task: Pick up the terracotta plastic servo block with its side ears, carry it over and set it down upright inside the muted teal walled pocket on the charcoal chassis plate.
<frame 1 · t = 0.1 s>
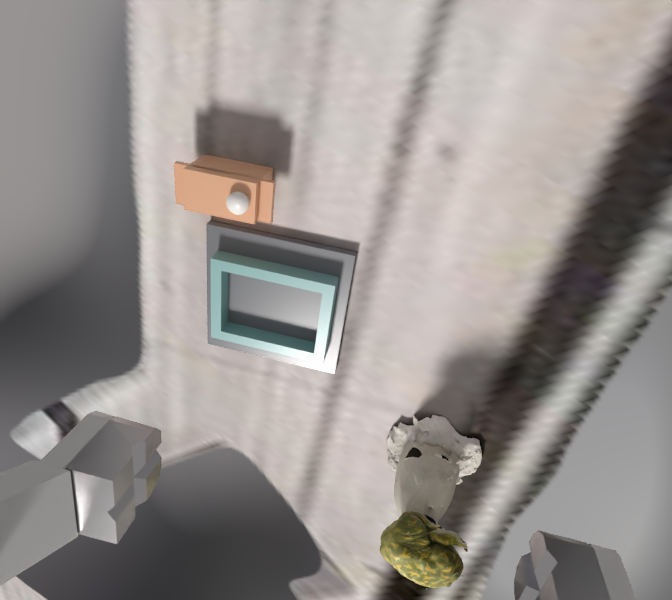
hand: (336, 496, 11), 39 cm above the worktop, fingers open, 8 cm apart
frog: (433, 446, 63), on the worktop
chassis plate: (277, 299, 56), on the worktop
servo block: (238, 180, 49), on the worktop
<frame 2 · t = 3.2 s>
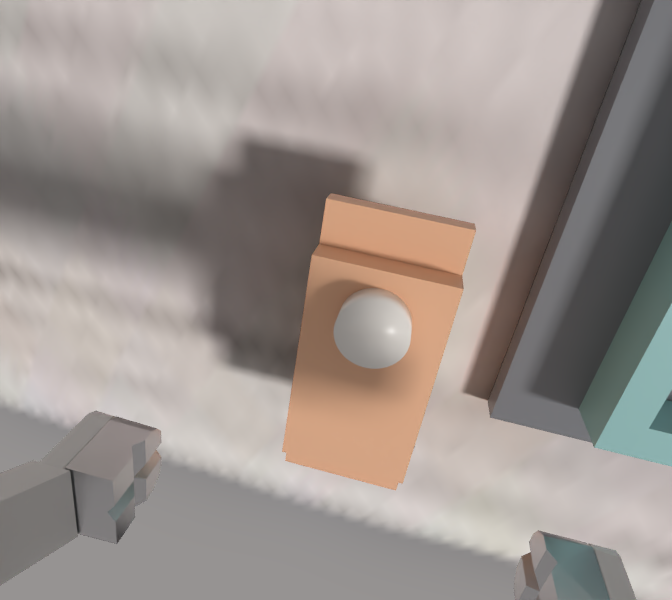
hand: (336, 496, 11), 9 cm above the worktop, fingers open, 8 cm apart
servo block: (379, 305, 19), on the worktop
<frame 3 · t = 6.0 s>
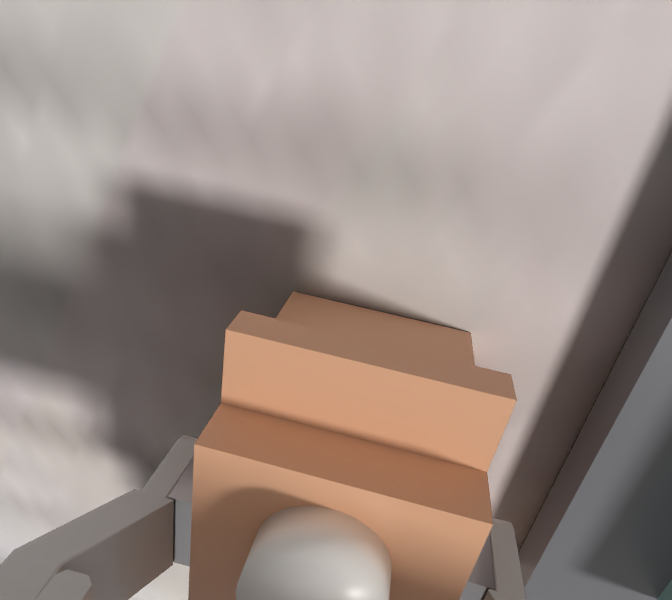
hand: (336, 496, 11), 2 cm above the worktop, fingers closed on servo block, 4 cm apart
servo block: (352, 431, 12), on the worktop, touching gripper
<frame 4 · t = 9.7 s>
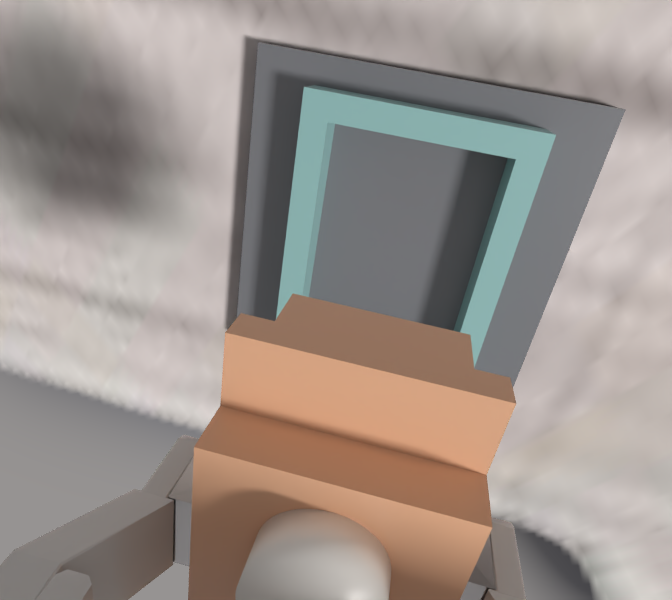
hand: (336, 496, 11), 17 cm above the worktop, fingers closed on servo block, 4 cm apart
chassis plate: (397, 240, 26), on the worktop
servo block: (352, 433, 12), point 15 cm above the worktop, touching gripper
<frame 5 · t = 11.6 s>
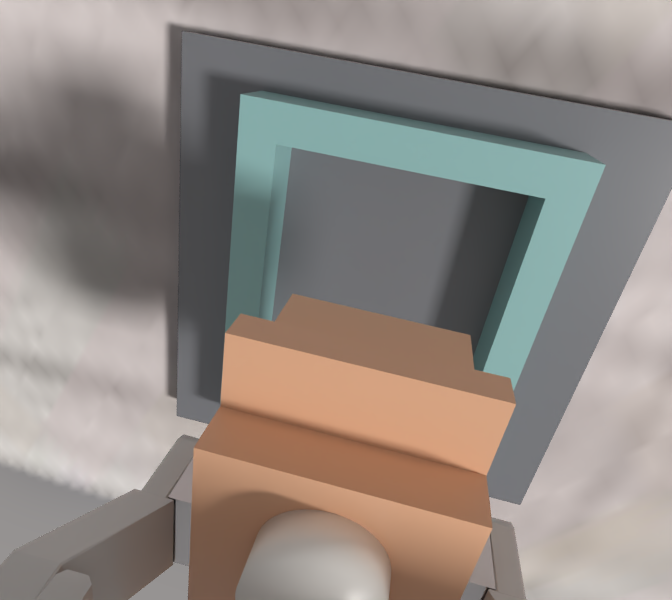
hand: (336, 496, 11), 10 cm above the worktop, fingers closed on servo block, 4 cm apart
chassis plate: (380, 294, 20), on the worktop
servo block: (352, 433, 12), point 8 cm above the worktop, touching gripper
when the fingers open (5 cm above the worktop, at t = 13.2 s): servo block drops 1 cm, resting on chassis plate.
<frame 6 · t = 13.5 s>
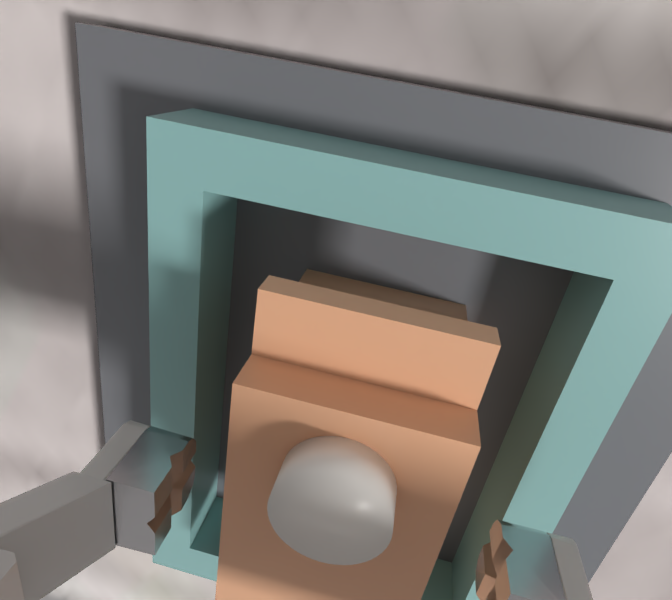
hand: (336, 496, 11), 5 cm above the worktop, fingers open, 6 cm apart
chassis plate: (366, 376, 15), on the worktop
servo block: (359, 398, 14), point 1 cm above the worktop, touching chassis plate
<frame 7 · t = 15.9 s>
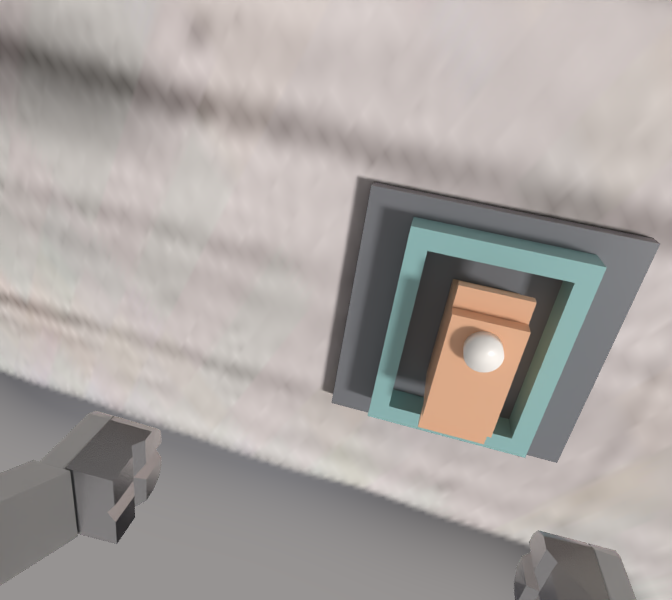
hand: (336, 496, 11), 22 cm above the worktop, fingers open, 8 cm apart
chassis plate: (471, 327, 32), on the worktop
servo block: (470, 335, 31), point 1 cm above the worktop, touching chassis plate
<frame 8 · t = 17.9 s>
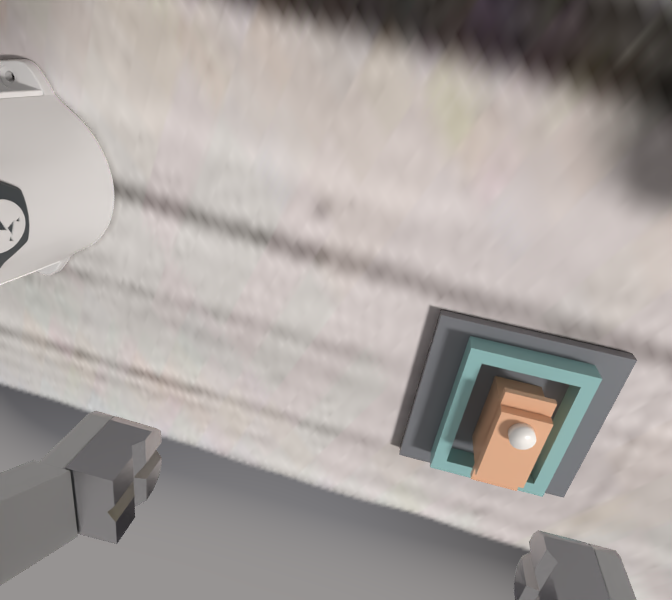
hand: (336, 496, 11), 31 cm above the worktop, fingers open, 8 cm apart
chassis plate: (505, 405, 45), on the worktop
servo block: (505, 412, 44), point 1 cm above the worktop, touching chassis plate
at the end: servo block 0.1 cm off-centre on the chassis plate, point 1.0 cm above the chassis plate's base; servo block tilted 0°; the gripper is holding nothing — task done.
